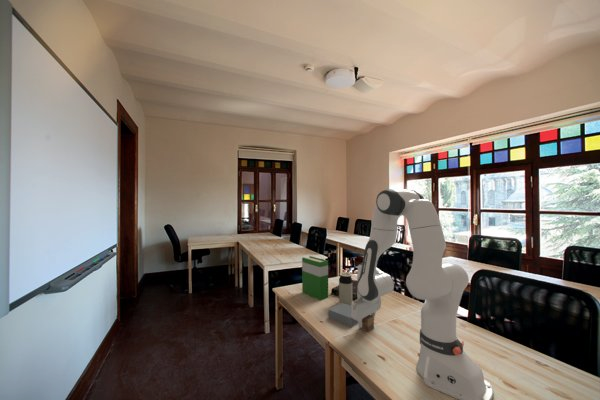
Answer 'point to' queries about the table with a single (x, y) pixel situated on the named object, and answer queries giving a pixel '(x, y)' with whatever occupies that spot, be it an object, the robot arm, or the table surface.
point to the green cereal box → (315, 277)
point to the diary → (354, 290)
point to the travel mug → (345, 288)
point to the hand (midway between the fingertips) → (366, 323)
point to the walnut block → (368, 323)
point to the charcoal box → (342, 314)
